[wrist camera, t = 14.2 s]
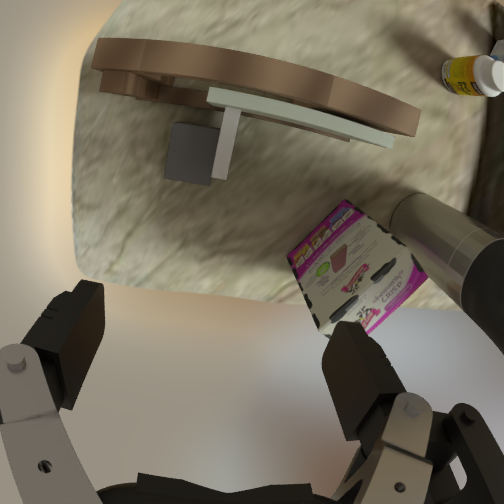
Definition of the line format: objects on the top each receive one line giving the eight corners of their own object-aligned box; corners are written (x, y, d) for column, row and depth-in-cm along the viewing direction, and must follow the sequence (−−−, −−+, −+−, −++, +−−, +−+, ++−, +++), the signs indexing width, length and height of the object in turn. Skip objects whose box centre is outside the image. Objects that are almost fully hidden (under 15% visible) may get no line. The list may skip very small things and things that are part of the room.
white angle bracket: (347, 128, 36) (395, 136, 25) (330, 191, 39) (369, 223, 28) (215, 96, 33) (209, 86, 22) (201, 164, 36) (189, 186, 26)
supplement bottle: (436, 84, 34) (484, 84, 25) (443, 51, 32) (490, 45, 23) (463, 101, 35) (511, 105, 26) (469, 69, 33) (517, 68, 24)
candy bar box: (309, 277, 45) (346, 356, 30) (284, 256, 43) (314, 332, 28) (367, 221, 42) (432, 278, 27) (345, 196, 40) (407, 245, 25)
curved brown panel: (355, 108, 36) (421, 109, 22) (347, 141, 37) (408, 159, 24) (144, 63, 32) (98, 37, 18) (136, 99, 33) (86, 92, 20)
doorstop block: (221, 128, 36) (220, 130, 31) (211, 177, 38) (209, 185, 34) (179, 121, 35) (173, 122, 31) (171, 170, 37) (163, 178, 33)
